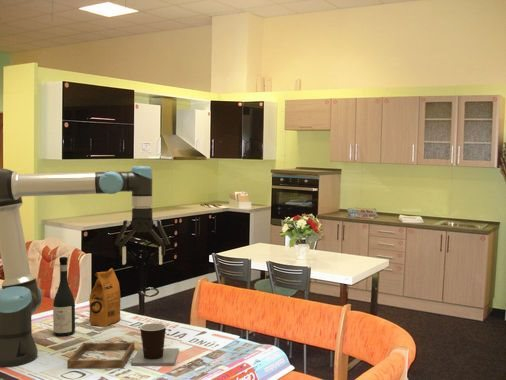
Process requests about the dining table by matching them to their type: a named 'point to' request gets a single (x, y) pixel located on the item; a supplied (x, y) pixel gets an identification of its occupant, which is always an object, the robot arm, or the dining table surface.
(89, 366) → the walnut collar
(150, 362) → the slate coaster
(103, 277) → the coffee package
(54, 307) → the wine bottle
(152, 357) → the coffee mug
